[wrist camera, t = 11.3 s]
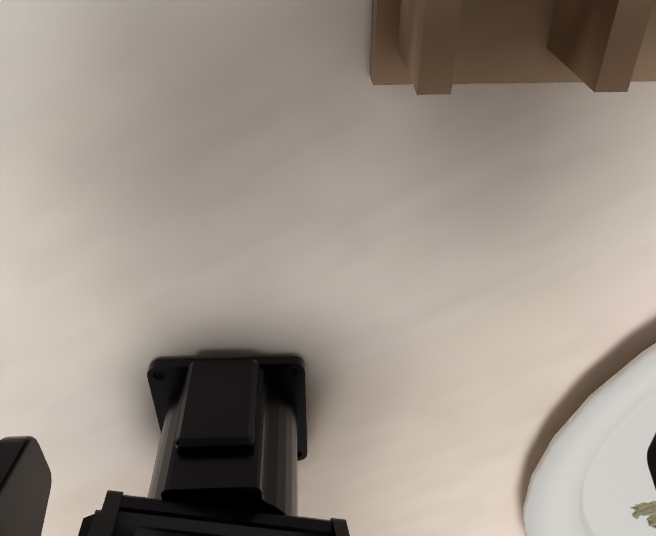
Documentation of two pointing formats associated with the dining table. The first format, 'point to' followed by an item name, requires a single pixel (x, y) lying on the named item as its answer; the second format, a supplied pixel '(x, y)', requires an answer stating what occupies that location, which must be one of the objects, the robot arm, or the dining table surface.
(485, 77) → the dish rack
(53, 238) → the dining table surface
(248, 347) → the dining table surface
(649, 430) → the plated food
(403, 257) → the dining table surface
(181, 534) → the robot arm
